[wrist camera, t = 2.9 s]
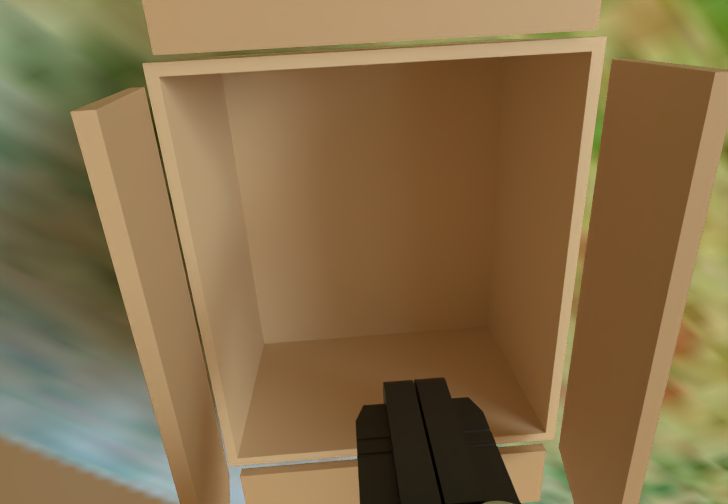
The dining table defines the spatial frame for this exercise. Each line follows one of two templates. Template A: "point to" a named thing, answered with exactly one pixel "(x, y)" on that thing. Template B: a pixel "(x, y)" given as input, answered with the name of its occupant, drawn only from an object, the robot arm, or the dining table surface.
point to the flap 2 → (638, 267)
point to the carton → (376, 215)
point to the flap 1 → (154, 287)
